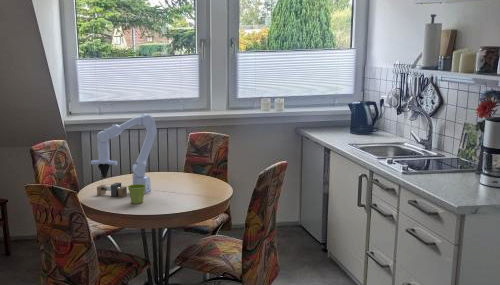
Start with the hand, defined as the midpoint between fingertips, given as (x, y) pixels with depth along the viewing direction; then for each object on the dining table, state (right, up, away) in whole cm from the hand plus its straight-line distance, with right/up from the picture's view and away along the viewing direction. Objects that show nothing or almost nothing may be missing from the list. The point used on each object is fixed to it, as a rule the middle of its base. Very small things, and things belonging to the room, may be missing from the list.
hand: (104, 177), depth 289 cm
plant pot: (+21, -12, -13) cm, 27 cm away
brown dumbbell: (+4, -10, +1) cm, 10 cm away
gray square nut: (+6, -10, 0) cm, 12 cm away
